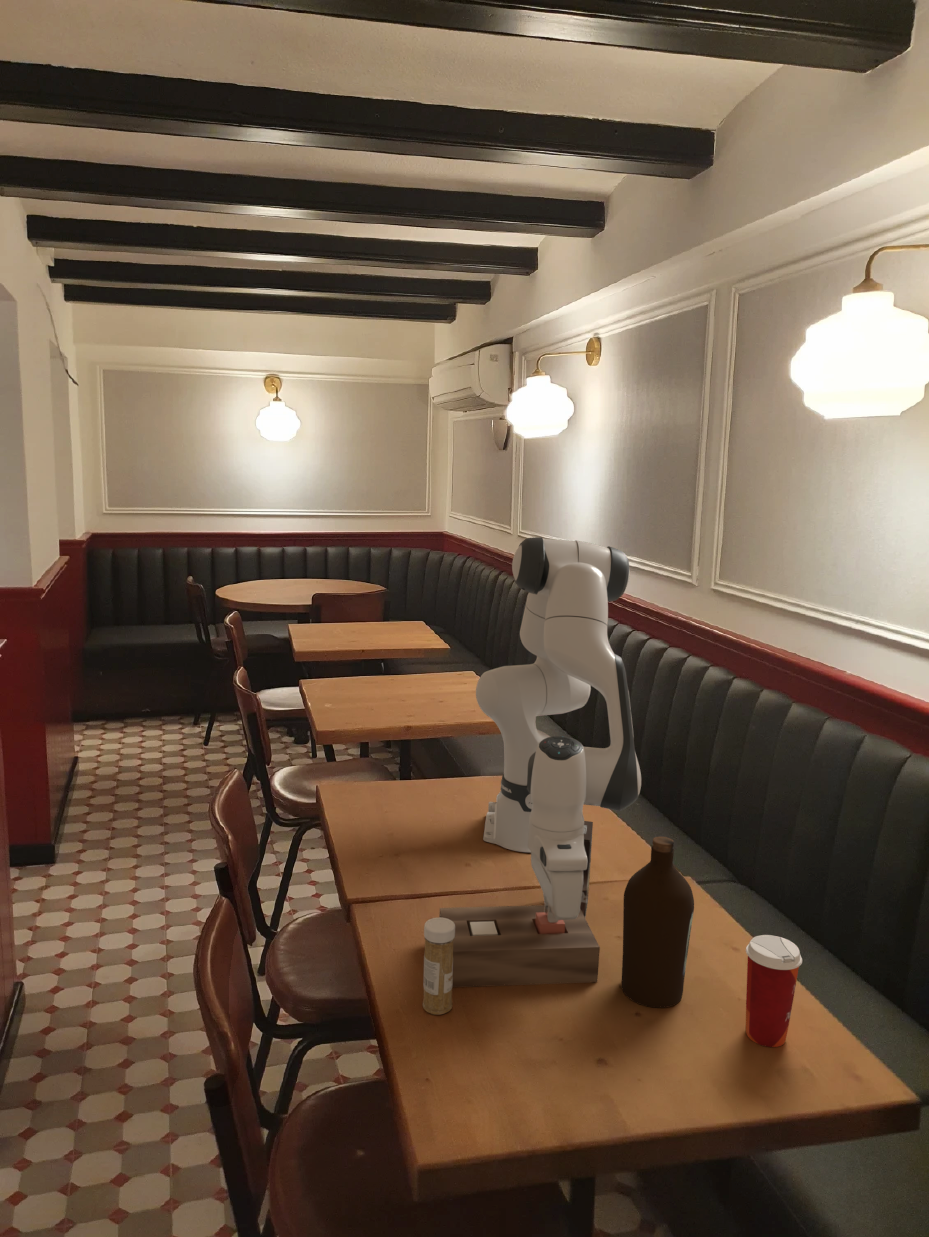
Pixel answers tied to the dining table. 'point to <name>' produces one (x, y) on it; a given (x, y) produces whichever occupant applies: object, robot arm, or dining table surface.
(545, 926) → the red plug
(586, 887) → the coffee box
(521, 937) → the socket block
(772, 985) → the paper cup
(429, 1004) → the spice jar
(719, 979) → the dining table surface
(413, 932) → the dining table surface
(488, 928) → the white plug
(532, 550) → the robot arm
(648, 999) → the olive oil
